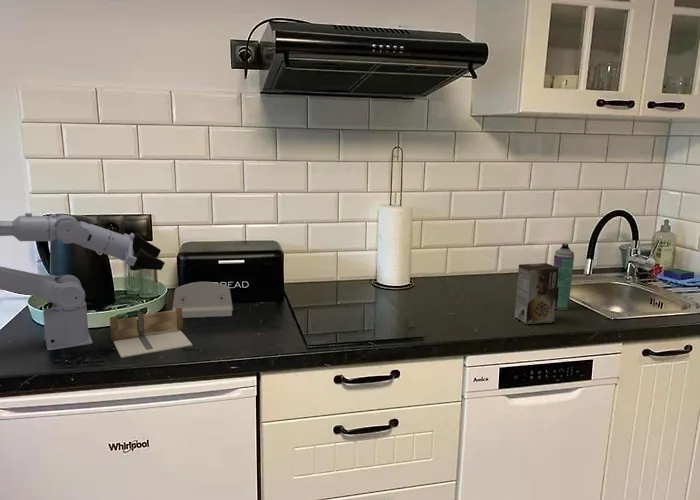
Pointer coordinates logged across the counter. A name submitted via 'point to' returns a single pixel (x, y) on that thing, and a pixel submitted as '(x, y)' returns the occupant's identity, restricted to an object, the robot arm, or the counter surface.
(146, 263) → the robot arm
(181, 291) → the hinge
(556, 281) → the coffee box
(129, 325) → the fence fixed
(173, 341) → the card
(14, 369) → the counter surface
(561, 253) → the spray can
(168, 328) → the panel
